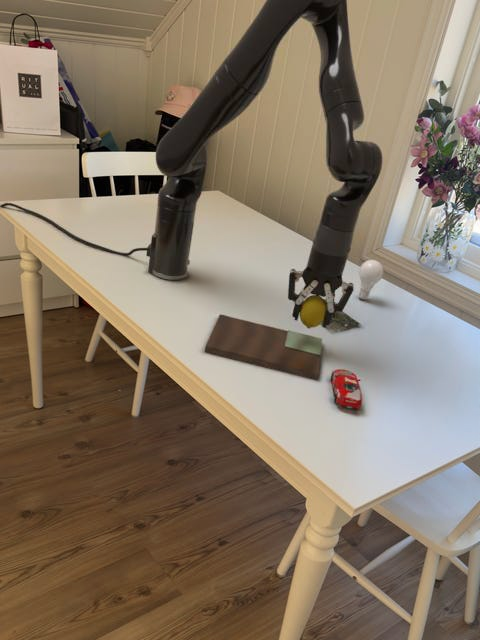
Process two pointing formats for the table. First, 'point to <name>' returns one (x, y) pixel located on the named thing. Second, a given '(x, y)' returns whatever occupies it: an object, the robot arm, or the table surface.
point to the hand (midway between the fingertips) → (309, 322)
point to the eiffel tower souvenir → (340, 320)
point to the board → (266, 346)
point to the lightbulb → (369, 277)
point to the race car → (346, 389)
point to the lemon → (313, 311)
